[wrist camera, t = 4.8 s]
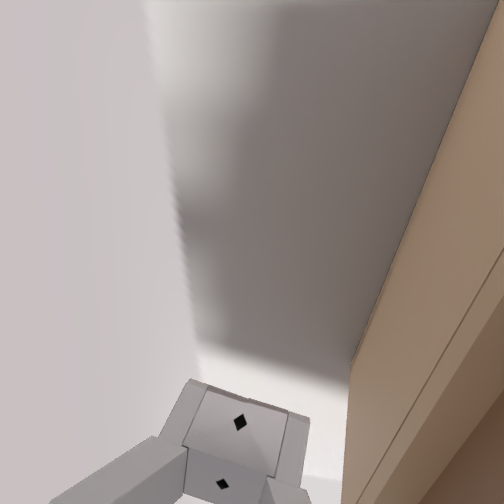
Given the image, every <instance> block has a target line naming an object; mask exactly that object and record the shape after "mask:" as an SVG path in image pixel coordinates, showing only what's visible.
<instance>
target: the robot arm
mask: <svg viewBox="0 0 504 504" xmlns="http://www.w3.org/2000/svg"><path fill="white" fill-rule="evenodd" d="M309 427H310V418H309V417H306V416H303V415H300V414H296V413H293V412H290V411H289V412H288V410H286V409H283V408H280V407H276V406H273V405H270V404H267V403H263V402H260V401H257V400H254V399H251V398H249V399H248V398H245V397H242V396H239V395H237V394H234V393H231V392H228V391H225V390H222V389H219V388H217V387H214V386H211V385H208V384H205V383H202V382H199V381H196V380H193V379H189V381H188V382H187V383H186V384H185V386H184V388H183V390H182V392H181V394H180V396H179V398H178V400H177V402H176V404H175V405H174V408H173V409H172V411H171V413H170V415H169V417H168V419H167V421H166V423H165V425H164V427H163V429H162V431H161V433H160V435H159V437H155V436H151V437H149V438H148V439H146V440H144V441H143V442H141V443H140V444H138V445H137V446H135V447H133V448H132V449H130V450H129V451H127V452H126V453H124V454H123V455H121V456H119V457H118V458H116V459H115V460H113V461H112V462H110V463H108V464H107V465H106V466H104V467H102V468H101V469H100V470H98V471H96V472H94V473H93V474H91V475H90V476H88V477H87V478H85V479H84V480H82V481H80V482H79V483H77V484H76V485H74V486H73V487H71V488H70V489H68V490H66V491H65V492H64V493H62V494H60V495H59V496H57V497H55V498H54V499H52V500H51V501H50V503H49V504H174V503H175V502H176V501H177V500H178V499H179V498H180V497H181V496H182V495H183V493H184V494H187V495H190V496H193V497H196V498H199V499H202V500H205V501H208V502H211V503H214V504H311V501H310V498H309V496H308V493H307V490H304V489H302V488H300V484H301V478H302V471H303V465H304V459H305V453H306V446H307V440H308V434H309Z"/></svg>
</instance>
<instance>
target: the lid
mask: <svg viewBox="0 0 504 504" xmlns="http://www.w3.org/2000/svg"><path fill="white" fill-rule="evenodd" d="M357 504H504V251H503V253H502V255H501V256H500V258H499V260H498V261H497V263H496V265H495V267H494V268H493V270H492V272H491V274H490V275H489V277H488V279H487V280H486V282H485V284H484V286H483V287H482V289H481V291H480V293H479V294H478V296H477V298H476V299H475V301H474V303H473V305H472V306H471V308H470V310H469V311H468V313H467V315H466V317H465V318H464V320H463V322H462V324H461V325H460V327H459V329H458V330H457V332H456V334H455V336H454V337H453V339H452V341H451V343H450V344H449V346H448V348H447V349H446V351H445V353H444V355H443V356H442V358H441V360H440V361H439V363H438V365H437V367H436V368H435V370H434V372H433V374H432V375H431V377H430V379H429V380H428V382H427V384H426V386H425V387H424V389H423V391H422V393H421V394H420V396H419V398H418V399H417V401H416V403H415V405H414V406H413V408H412V410H411V411H410V413H409V415H408V417H407V418H406V420H405V422H404V424H403V425H402V427H401V429H400V430H399V432H398V434H397V436H396V437H395V439H394V441H393V443H392V444H391V446H390V448H389V449H388V451H387V453H386V455H385V456H384V458H383V460H382V461H381V463H380V465H379V467H378V468H377V470H376V472H375V474H374V475H373V477H372V479H371V480H370V482H369V484H368V486H367V487H366V489H365V491H364V493H363V494H362V496H361V498H360V499H359V501H358V503H357Z"/></svg>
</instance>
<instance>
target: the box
mask: <svg viewBox="0 0 504 504" xmlns="http://www.w3.org/2000/svg"><path fill="white" fill-rule="evenodd" d="M503 251H504V0H499V2H498V4H497V7H496V9H495V12H494V14H493V16H492V19H491V21H490V24H489V26H488V29H487V31H486V34H485V36H484V39H483V41H482V43H481V46H480V48H479V51H478V53H477V56H476V58H475V61H474V63H473V65H472V68H471V70H470V73H469V75H468V78H467V80H466V83H465V85H464V88H463V90H462V92H461V95H460V97H459V100H458V102H457V105H456V107H455V110H454V112H453V115H452V117H451V119H450V122H449V124H448V127H447V129H446V132H445V134H444V137H443V139H442V141H441V144H440V146H439V149H438V151H437V154H436V156H435V159H434V161H433V164H432V166H431V168H430V171H429V173H428V176H427V178H426V181H425V183H424V186H423V188H422V190H421V193H420V195H419V198H418V200H417V203H416V205H415V208H414V210H413V213H412V215H411V217H410V220H409V222H408V225H407V227H406V230H405V232H404V235H403V237H402V239H401V242H400V244H399V247H398V249H397V252H396V254H395V257H394V259H393V262H392V264H391V266H390V269H389V271H388V274H387V276H386V279H385V281H384V284H383V286H382V288H381V291H380V293H379V296H378V298H377V301H376V303H375V306H374V308H373V311H372V313H371V315H370V318H369V320H368V323H367V325H366V328H365V330H364V333H363V335H362V337H361V340H360V342H359V345H358V347H357V350H356V352H355V355H354V357H353V360H352V362H351V367H350V382H349V396H348V410H347V424H346V438H345V452H344V466H343V481H342V495H341V504H357V503H358V501H359V499H360V498H361V496H362V494H363V493H364V491H365V489H366V487H367V486H368V484H369V482H370V480H371V479H372V477H373V475H374V474H375V472H376V470H377V468H378V467H379V465H380V463H381V461H382V460H383V458H384V456H385V455H386V453H387V451H388V449H389V448H390V446H391V444H392V443H393V441H394V439H395V437H396V436H397V434H398V432H399V430H400V429H401V427H402V425H403V424H404V422H405V420H406V418H407V417H408V415H409V413H410V411H411V410H412V408H413V406H414V405H415V403H416V401H417V399H418V398H419V396H420V394H421V393H422V391H423V389H424V387H425V386H426V384H427V382H428V380H429V379H430V377H431V375H432V374H433V372H434V370H435V368H436V367H437V365H438V363H439V361H440V360H441V358H442V356H443V355H444V353H445V351H446V349H447V348H448V346H449V344H450V343H451V341H452V339H453V337H454V336H455V334H456V332H457V330H458V329H459V327H460V325H461V324H462V322H463V320H464V318H465V317H466V315H467V313H468V311H469V310H470V308H471V306H472V305H473V303H474V301H475V299H476V298H477V296H478V294H479V293H480V291H481V289H482V287H483V286H484V284H485V282H486V280H487V279H488V277H489V275H490V274H491V272H492V270H493V268H494V267H495V265H496V263H497V261H498V260H499V258H500V256H501V255H502V253H503Z"/></svg>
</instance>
